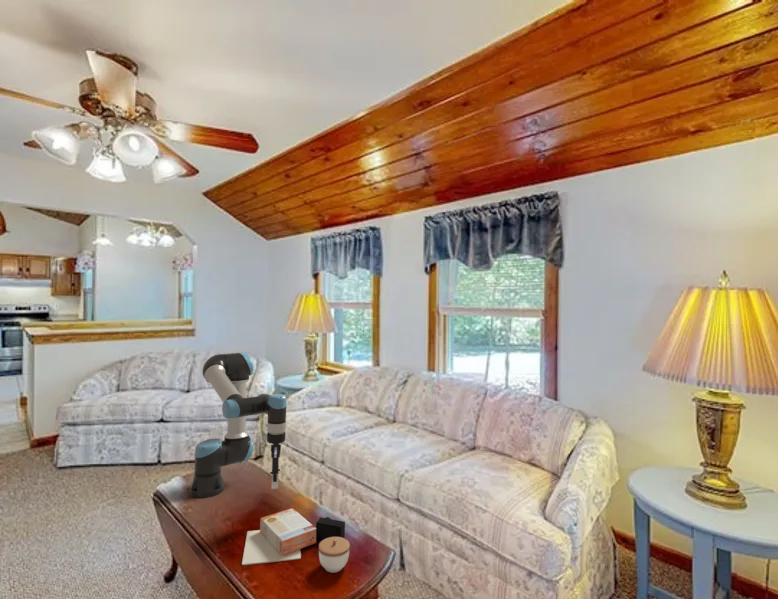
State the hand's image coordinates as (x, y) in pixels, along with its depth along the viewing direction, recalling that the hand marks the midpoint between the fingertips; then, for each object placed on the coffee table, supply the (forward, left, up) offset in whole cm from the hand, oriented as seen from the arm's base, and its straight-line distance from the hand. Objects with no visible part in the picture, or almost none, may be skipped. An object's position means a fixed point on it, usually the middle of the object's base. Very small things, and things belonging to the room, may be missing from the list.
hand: (274, 488), depth 182 cm
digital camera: (+19, +22, -13) cm, 32 cm away
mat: (+19, 0, -13) cm, 23 cm away
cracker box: (+7, +1, -10) cm, 12 cm away
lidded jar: (+37, +21, -13) cm, 45 cm away
